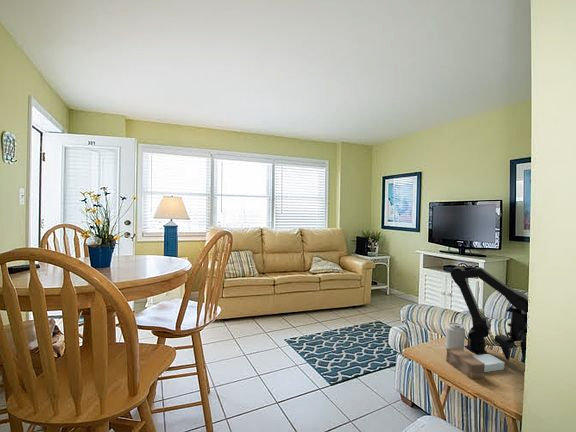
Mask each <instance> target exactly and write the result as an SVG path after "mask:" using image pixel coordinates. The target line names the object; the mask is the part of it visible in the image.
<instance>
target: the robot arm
mask: <svg viewBox="0 0 576 432" xmlns="http://www.w3.org/2000/svg"><path fill="white" fill-rule="evenodd" d="M450 277H451V278H452V280H453V281H454V283H455V284H456V285H457V287H458V288H459V290H460V292H461V295H462V297H463V299H464V302H465V304H466V307H467V309H468V312H469V314H470V316H471V321H472V322H471V323H472V327H471V328H470V329H469V331H468V333H467V345H464V349H465V348H466V349H467V350H469V351H471V352H473V353H474V354H476V355H479V354H483V353H486V354H487V350H486V340H485V338H487V337H488V336H489V335H490V331H491V327H492V324H491V323H490V320H489V317H488V316H483V315H484V314H482V313H481V312H482V311H481V310H480V308H479V306H478V302H477V300H476V298H475V297H474V293H473V291H472V288H471V287H470V284H469V279H471V278H472V279H473V278H478V279H480V280H481V281H483V282H484V283H486V284H487V285H488V286H490V287H491V288H493V289H494V290H495V291H496V292H498V293H499V294H501V295H502V296H504V298H505V299H506V301H508V302H509V304H511V305H510V306H508V307H506V312H508V313H511V315H510V323H509V322H508V323H507V326H508V327H510V328H509V332H508V331H507V332H506V335H504V334H498V335H497V334H496V335H495V336H494V342H495V343H496V344H498V345H499V347H500V348H501V350H502V352H503V355H504V357H505V359H506V360H507V361H510V358H511V353H512V350H513V349H515V347H514V346H515V343H518V342H519V343H520V351H521V355H522V357H523V358H524V359H525V350H526V333H527V327H528V324H527V312H528V298H529V297H528V296H527V295H526V294H525V293H523V292H520V291H518V290H517V289H513V288H511V287H510V286H508V285H507V284H505V283H504V282H502V281H501V280H499V279H498V278H497V277H496V276H494V275H492V274H491V273H489V272H488V271H486V270H485V269H484V268H483V267H463V266H460V265H457V266H455V267H454V268H453V269H451V271H450ZM508 336H509V337H508Z"/></svg>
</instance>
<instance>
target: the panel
mask: <svg viewBox="0 0 576 432" xmlns="http://www.w3.org/2000/svg"><path fill="white" fill-rule="evenodd" d="M472 356H473V357H475V358H476V359H478V360H479V361H481V362H483V363H484V364H485V368H484V373H488V372H493V371H501V370H504V369H505V361H503V360H501V359H500V358H497V357H496V356H495V355H492V354H491V353H486V354H476V355H475V354H474V355H472Z"/></svg>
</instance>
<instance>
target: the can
mask: <svg viewBox="0 0 576 432" xmlns="http://www.w3.org/2000/svg"><path fill="white" fill-rule="evenodd" d="M464 327H465V326H464V325H463V324H461V323H458V322H453V321H452V322H451V321H450V322H448V324H447V325H446V329H445V330H446V331H445V341H444V342H445V344H444V346H445V349H446V350H447V349H450V348H458V347H459V348H460V349H462V350H464V351H465V337H466V335H465V333H466V329H465V328H464Z"/></svg>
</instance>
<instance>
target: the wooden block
mask: <svg viewBox="0 0 576 432" xmlns="http://www.w3.org/2000/svg"><path fill="white" fill-rule="evenodd" d="M473 356H474V355H471V354H470V353H468V352H467V351H465V349H464V350H462V349H460V348H459V347H458V348H450V349H447V348H446V360H445V361H446V362H447V363H448V364H449V365H451V366H452V367H454V368H455V369H456V370H458V371H459V372H461V373H462V374H463V375H465V376H466V377H467V378H469V379H470V380H475V379H480V378H484V377H485V372H484V368H485V364H484V363H483V362H481V361H479V360H478V359H476V358H475V357H473Z"/></svg>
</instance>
